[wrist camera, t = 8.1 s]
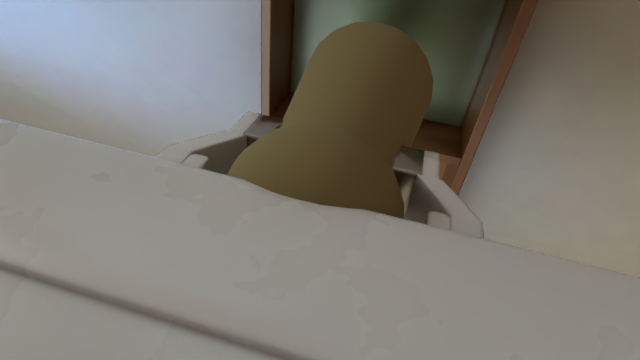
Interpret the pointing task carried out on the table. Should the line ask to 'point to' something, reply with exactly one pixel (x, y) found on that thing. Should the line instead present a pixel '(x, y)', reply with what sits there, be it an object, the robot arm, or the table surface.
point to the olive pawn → (346, 122)
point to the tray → (436, 43)
